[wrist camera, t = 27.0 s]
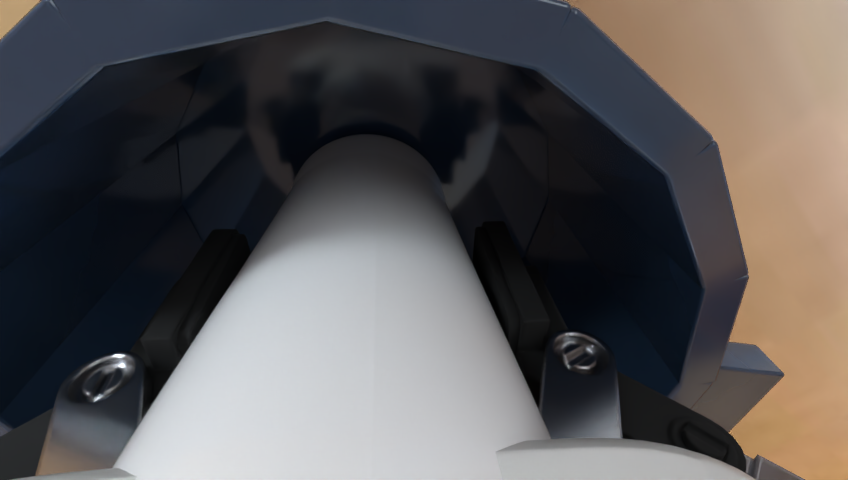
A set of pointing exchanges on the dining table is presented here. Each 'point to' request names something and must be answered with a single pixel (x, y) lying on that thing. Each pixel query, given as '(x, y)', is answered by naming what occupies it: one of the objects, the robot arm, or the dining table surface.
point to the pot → (343, 116)
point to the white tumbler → (345, 343)
